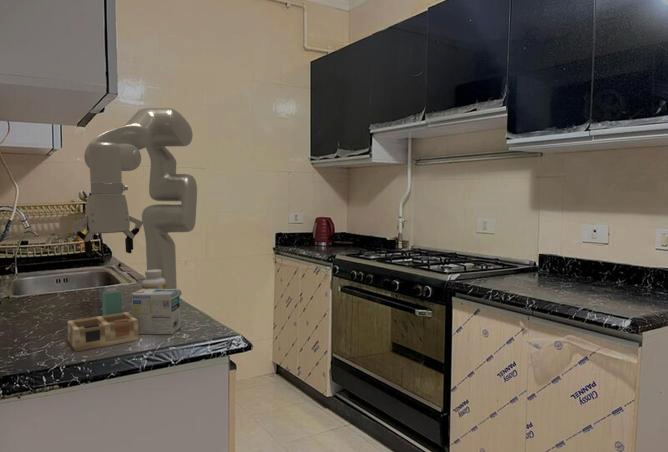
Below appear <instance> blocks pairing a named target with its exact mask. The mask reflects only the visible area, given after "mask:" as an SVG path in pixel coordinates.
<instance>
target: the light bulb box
mask: <svg viewBox="0 0 668 452" xmlns="http://www.w3.org/2000/svg"><path fill="white" fill-rule="evenodd" d="M179 290H180V288H177V289H142V288H141V289H139V290H137V291H134V292H132V293H131V315H132V316H133V317H134V318H136V319H137V320H138V335H174V334H175V333H176V332H177V331H178V330H179V329H180V328H182V319H181V318H182V316H181V315H182V314H181V295H180V291H181V290H180V291H179Z"/></svg>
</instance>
